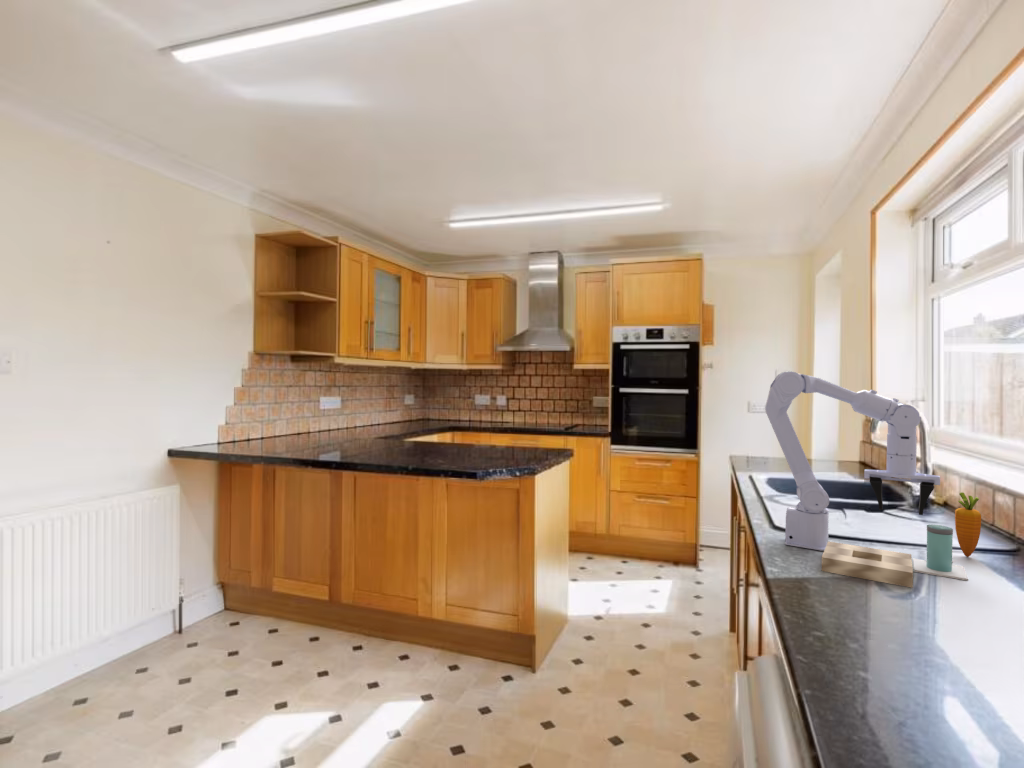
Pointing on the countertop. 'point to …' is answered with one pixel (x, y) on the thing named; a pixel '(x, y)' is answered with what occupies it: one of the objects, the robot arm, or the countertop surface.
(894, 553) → the tan board with hole
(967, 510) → the carrot
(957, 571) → the mat
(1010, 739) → the countertop surface
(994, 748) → the countertop surface
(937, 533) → the plug
